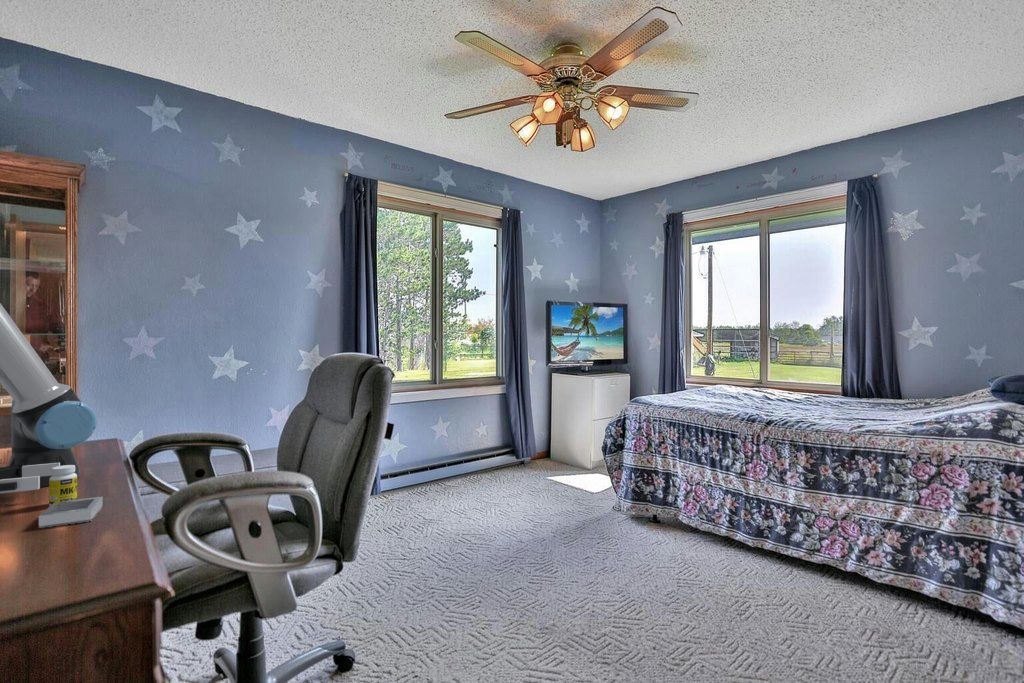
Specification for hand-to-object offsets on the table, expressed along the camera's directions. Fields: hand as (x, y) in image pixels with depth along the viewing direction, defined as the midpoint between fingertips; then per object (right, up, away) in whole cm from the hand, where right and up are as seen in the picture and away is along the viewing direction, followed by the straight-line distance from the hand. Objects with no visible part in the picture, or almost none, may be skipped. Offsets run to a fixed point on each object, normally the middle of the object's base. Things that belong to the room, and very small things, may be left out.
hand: (50, 475), depth 112 cm
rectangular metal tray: (+12, -7, -8) cm, 16 cm away
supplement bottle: (+2, -7, +2) cm, 7 cm away
